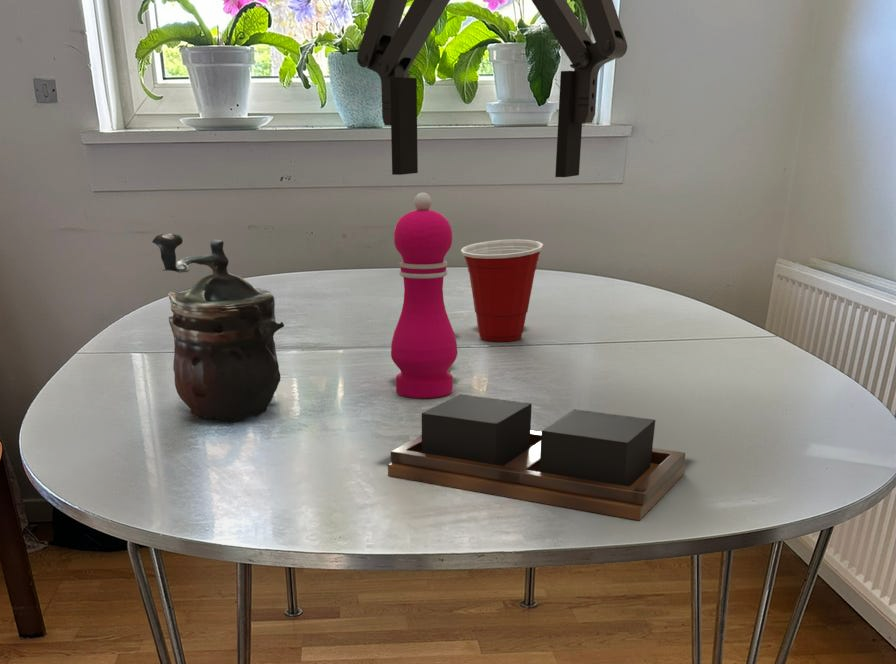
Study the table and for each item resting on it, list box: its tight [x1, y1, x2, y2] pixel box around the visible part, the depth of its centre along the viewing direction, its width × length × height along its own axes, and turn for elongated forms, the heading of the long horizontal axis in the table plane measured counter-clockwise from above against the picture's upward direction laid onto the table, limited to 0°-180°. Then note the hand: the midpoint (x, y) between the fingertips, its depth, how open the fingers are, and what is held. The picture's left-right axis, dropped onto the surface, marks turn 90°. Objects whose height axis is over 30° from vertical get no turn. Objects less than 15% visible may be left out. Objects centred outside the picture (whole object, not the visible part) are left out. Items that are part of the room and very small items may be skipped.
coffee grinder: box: [152, 233, 285, 424], centre depth 93 cm, size 13×15×18 cm
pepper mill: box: [390, 192, 458, 399], centre depth 100 cm, size 7×7×20 cm
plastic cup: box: [460, 239, 544, 342], centre depth 127 cm, size 11×11×12 cm
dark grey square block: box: [421, 393, 533, 466], centre depth 81 cm, size 7×7×4 cm
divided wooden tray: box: [387, 429, 687, 521], centre depth 80 cm, size 22×12×2 cm, turn 60°
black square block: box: [540, 408, 656, 487], centre depth 76 cm, size 7×7×4 cm
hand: (482, 175), depth 71 cm, fingers open, 13 cm apart
